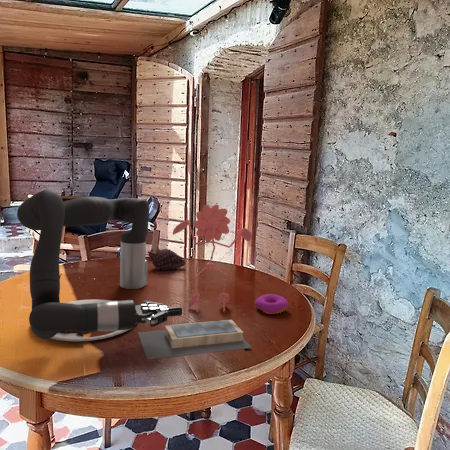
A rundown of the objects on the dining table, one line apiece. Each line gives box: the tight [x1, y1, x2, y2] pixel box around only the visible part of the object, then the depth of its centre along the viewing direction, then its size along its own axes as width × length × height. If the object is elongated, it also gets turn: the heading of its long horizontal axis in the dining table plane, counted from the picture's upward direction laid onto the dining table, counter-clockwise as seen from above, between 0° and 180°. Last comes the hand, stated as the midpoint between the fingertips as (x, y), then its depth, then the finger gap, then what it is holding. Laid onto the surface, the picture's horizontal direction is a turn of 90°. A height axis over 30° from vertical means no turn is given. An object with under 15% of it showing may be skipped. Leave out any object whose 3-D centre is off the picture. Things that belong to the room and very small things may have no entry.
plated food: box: [50, 299, 138, 342], centre depth 123 cm, size 30×30×3 cm
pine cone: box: [146, 248, 186, 272], centre depth 182 cm, size 18×10×10 cm
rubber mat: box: [137, 329, 252, 361], centre depth 115 cm, size 28×16×1 cm, turn 110°
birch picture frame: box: [164, 319, 244, 348], centre depth 117 cm, size 9×3×20 cm
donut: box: [254, 293, 290, 313], centre depth 142 cm, size 11×10×5 cm
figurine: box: [172, 204, 253, 313], centre depth 140 cm, size 15×26×35 cm, turn 104°
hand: (181, 310), depth 113 cm, fingers closed
